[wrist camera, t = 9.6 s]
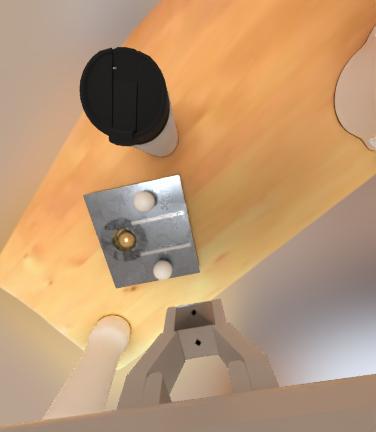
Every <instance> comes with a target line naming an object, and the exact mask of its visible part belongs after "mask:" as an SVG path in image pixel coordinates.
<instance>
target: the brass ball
mask: <svg viewBox="0 0 376 432" xmlns="http://www.w3.org/2000/svg"><path fill="white" fill-rule="evenodd" d="M118 242H119V244H120V245H121V246H122V247H124V248H131V247H133V246H134V245H135V244H136V242H137V240H136V237H135V235H134V234H133V233H132V232H131V231H130V230H124V231H122V232H121V233H120V234H119V236H118Z"/></svg>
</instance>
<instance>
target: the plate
mask: <svg viewBox="0 0 376 432" xmlns="http://www.w3.org/2000/svg"><path fill="white" fill-rule="evenodd" d="M141 191H147V192H149V193H151V194H152V195H153V197H154V199H155V205H154V207H153V208H152V209H151V210H150V211H148V212H140V211H138V210H137V209H136V208H135V206H134V204H133V199H134V196H135V195H136V194H137V193H138V192H141ZM83 197H84V199H85V202H86V205H87V208H88V211H89V214H90V216H91V219H92V222H93V225H94V228H95V230H96V233H97V236H98V239H99V242H100V244H101V247H102V250H103V253H104V256H105V258H106V261H107V264H108V267H109V270H110V273H111V275H112V278H113V281H114V284H115V287H116V288H121V287H126V286H131V285H136V284H142V283H147V282H152V281H157V280H159V279H157V278H156V277H155V276H154V273H153V268H154V265H155V264H156V263H157V262H159V261H161V260H165V261H168V262H169V263H170V264H171V266H172V274H171V276H170V277H169V278H173V277H178V276H184V275H189V274H194V273H199V272H200V270H199V264H198V259H197V254H196V250H195V245H194V240H193V236H192V231H191V226H190V221H189V217H188V212H187V207H186V203H185V198H184V193H183V189H182V184H181V179H180V175H175V176H170V177H166V178H161V179H156V180H151V181H147V182H142V183H137V184H133V185H128V186H123V187H119V188H114V189H109V190H104V191H100V192H95V193H90V194H87V195H83ZM119 229H127V230H130V231H131V232H132V233H133V234H134V235H135V237H136V240H137V242H136V244H135V245H134V246H133V247H131V248H124V247H122V246H121V245H120V244H119V242H118V238H117V231H118V230H119Z"/></svg>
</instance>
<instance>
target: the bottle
mask: <svg viewBox="0 0 376 432" xmlns="http://www.w3.org/2000/svg"><path fill="white" fill-rule="evenodd" d="M129 338H130V327H129V324H128V322H127V321H126V320H125V319H123V318H122V317H119V316H114V315H111V316H106V317H104V318H102V319H101V320H100V321H99V322H98V323H97V324H96V325H95V327H94V328H93V330H92V332H91V333H90V336H89V339H88V345H87V347H86V349H85V351H84V352H83V354H82V356H81V358H80V359H79V361H78V362H77V364H76V366H75V367H74V369H73V370H72V372H71V373H70V375H69V377H68V378H67V380H66V381H65V383H64V385H63V386H62V388H61V389H60V391H59V393H58V394H57V396H56V397H55V399H54V401H53V402H52V404H51V405H50V407H49V409H48V410H47V412H46V413H45V415H44V416H43V418H42V420H47V419H54V418H61V417H69V416H76V415H83V414H90V413H97V412H104V408H105V405H106V401H107V398H108V394H109V391H110V388H111V384H112V381H113V377H114V374H115V371H116V367H117V364H118V361H119V358H120V356H121V354H122V353H123V352H124V351H125V349H126V347H127V344H128V341H129Z"/></svg>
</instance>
